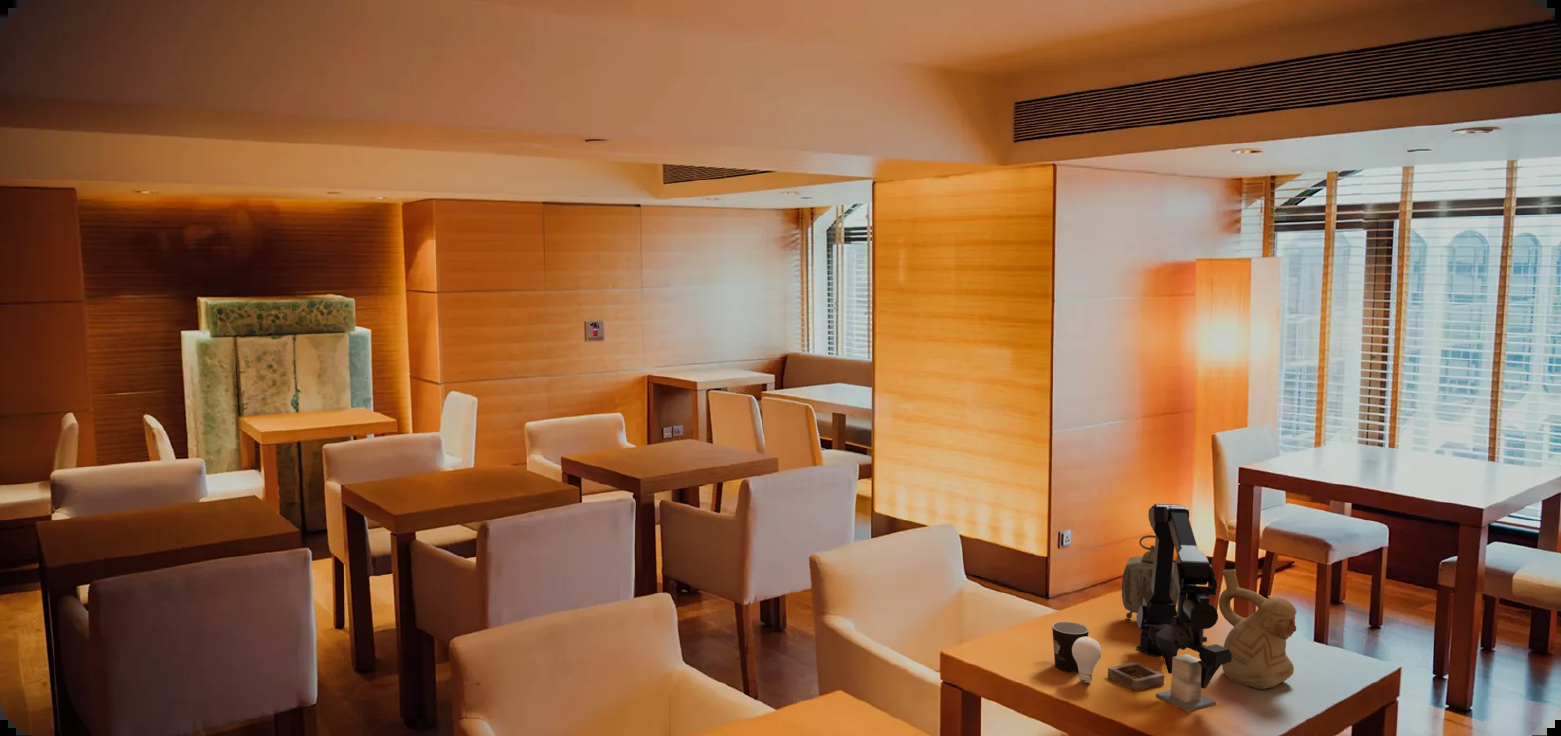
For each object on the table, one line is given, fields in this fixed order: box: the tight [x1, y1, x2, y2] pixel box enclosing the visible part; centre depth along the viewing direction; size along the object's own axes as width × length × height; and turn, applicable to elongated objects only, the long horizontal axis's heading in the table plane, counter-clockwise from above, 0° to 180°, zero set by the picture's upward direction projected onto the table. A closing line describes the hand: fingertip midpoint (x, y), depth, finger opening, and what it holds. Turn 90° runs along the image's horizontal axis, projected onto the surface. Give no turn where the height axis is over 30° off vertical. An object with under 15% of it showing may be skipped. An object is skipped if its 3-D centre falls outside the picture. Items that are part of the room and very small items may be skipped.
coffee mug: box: [1051, 621, 1090, 674], centre depth 250 cm, size 12×9×10 cm
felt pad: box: [1155, 689, 1217, 712], centre depth 231 cm, size 9×9×1 cm
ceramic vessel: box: [1218, 568, 1297, 690], centre depth 243 cm, size 17×20×25 cm
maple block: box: [1170, 653, 1202, 703], centre depth 231 cm, size 4×4×9 cm
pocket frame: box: [1107, 661, 1165, 691], centre depth 242 cm, size 9×9×2 cm
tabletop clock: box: [1121, 534, 1178, 619], centre depth 279 cm, size 14×9×25 cm, turn 66°
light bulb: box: [1072, 636, 1102, 684], centre depth 239 cm, size 7×7×11 cm
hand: (1186, 680), depth 231 cm, fingers open, 9 cm apart
